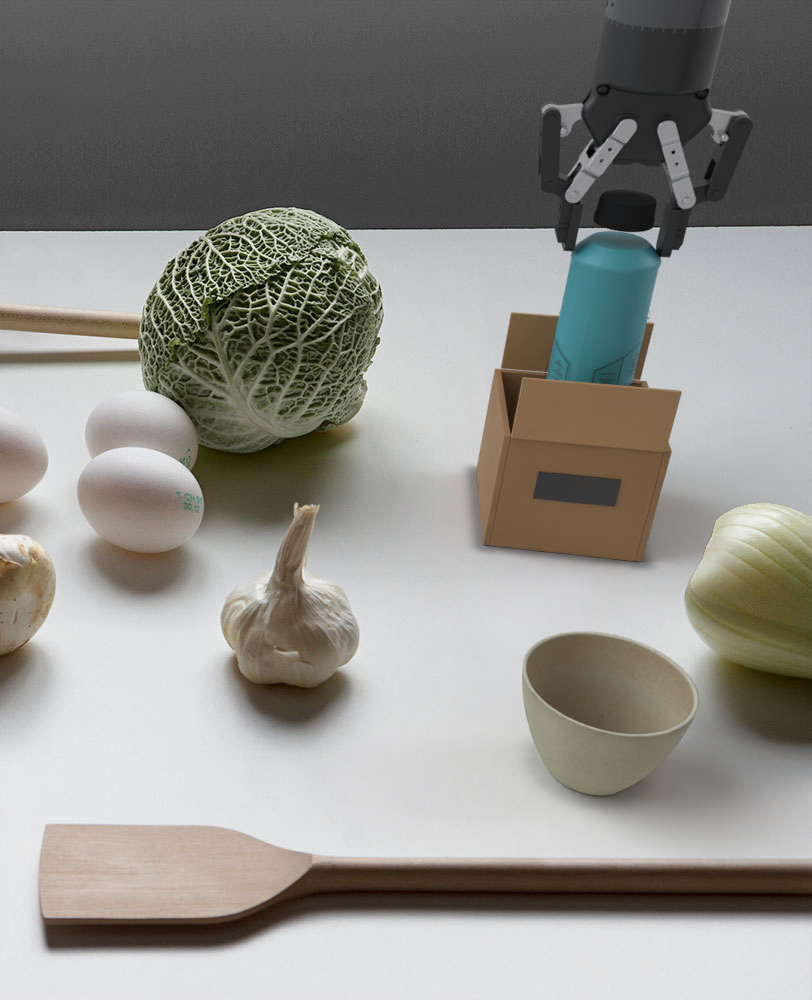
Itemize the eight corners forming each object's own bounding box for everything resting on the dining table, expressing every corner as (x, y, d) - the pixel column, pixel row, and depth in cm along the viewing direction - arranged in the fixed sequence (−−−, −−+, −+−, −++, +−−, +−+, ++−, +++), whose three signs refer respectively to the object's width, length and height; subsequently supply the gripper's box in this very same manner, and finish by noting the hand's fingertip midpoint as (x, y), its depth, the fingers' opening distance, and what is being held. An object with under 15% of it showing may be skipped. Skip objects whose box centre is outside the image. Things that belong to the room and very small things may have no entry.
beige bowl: (657, 726, 85) (683, 640, 81) (683, 837, 77) (714, 747, 73) (499, 705, 87) (517, 620, 83) (508, 811, 79) (529, 721, 75)
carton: (619, 483, 112) (660, 323, 104) (642, 564, 101) (689, 392, 93) (475, 469, 114) (504, 311, 106) (483, 547, 103) (515, 378, 96)
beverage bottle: (618, 464, 100) (681, 214, 90) (528, 449, 102) (580, 203, 92) (620, 427, 105) (679, 186, 95) (534, 413, 107) (583, 176, 97)
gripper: (559, 20, 85) (516, 263, 94) (796, 27, 82) (730, 276, 91) (548, -1, 91) (509, 228, 100) (769, 4, 88) (709, 239, 97)
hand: (615, 250), depth 95 cm, fingers closed on beverage bottle, 6 cm apart
